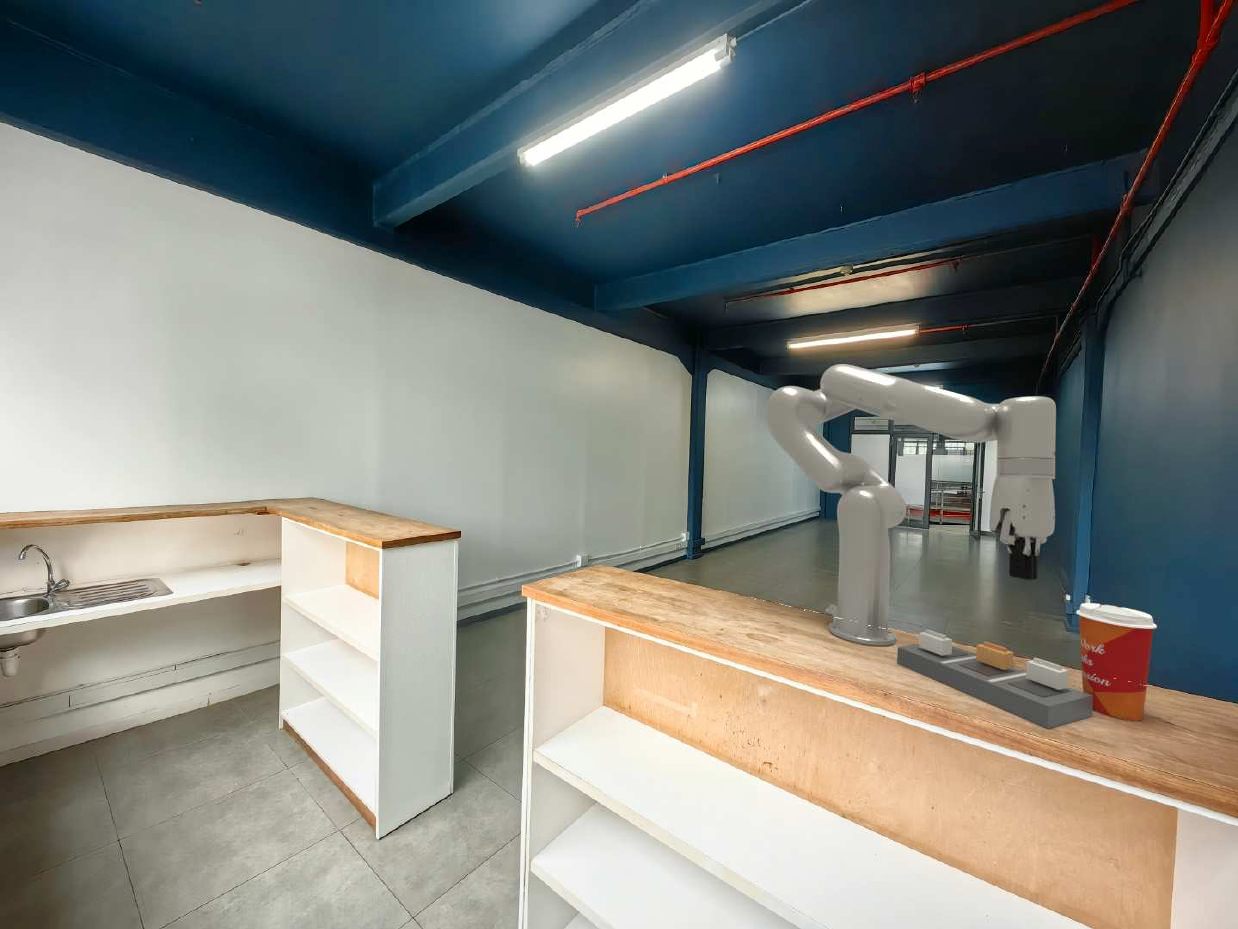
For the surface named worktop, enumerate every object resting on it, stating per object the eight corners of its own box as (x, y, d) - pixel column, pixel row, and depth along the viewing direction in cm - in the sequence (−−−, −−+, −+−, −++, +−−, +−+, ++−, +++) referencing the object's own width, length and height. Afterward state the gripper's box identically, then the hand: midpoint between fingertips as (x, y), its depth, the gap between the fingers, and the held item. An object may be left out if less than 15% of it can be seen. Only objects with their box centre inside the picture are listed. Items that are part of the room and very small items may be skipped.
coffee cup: (1070, 691, 75) (1073, 598, 75) (1146, 710, 69) (1149, 610, 70) (1077, 711, 68) (1080, 609, 68) (1162, 733, 63) (1165, 622, 63)
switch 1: (919, 647, 82) (919, 629, 82) (928, 645, 83) (929, 628, 83) (941, 655, 78) (942, 637, 79) (951, 654, 79) (952, 636, 79)
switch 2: (976, 660, 77) (976, 641, 77) (985, 658, 78) (986, 640, 78) (1003, 670, 73) (1004, 650, 74) (1013, 668, 74) (1013, 648, 74)
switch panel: (897, 663, 83) (897, 646, 83) (937, 657, 87) (938, 640, 87) (1048, 728, 63) (1048, 705, 63) (1092, 716, 67) (1092, 694, 67)
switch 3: (1025, 678, 71) (1026, 657, 71) (1035, 676, 72) (1036, 656, 72) (1058, 690, 67) (1059, 668, 67) (1068, 687, 68) (1069, 666, 68)
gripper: (1025, 471, 85) (1024, 571, 84) (972, 468, 80) (970, 575, 79) (1078, 471, 78) (1076, 581, 77) (1023, 468, 73) (1021, 585, 72)
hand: (1023, 577), depth 78 cm, fingers closed
